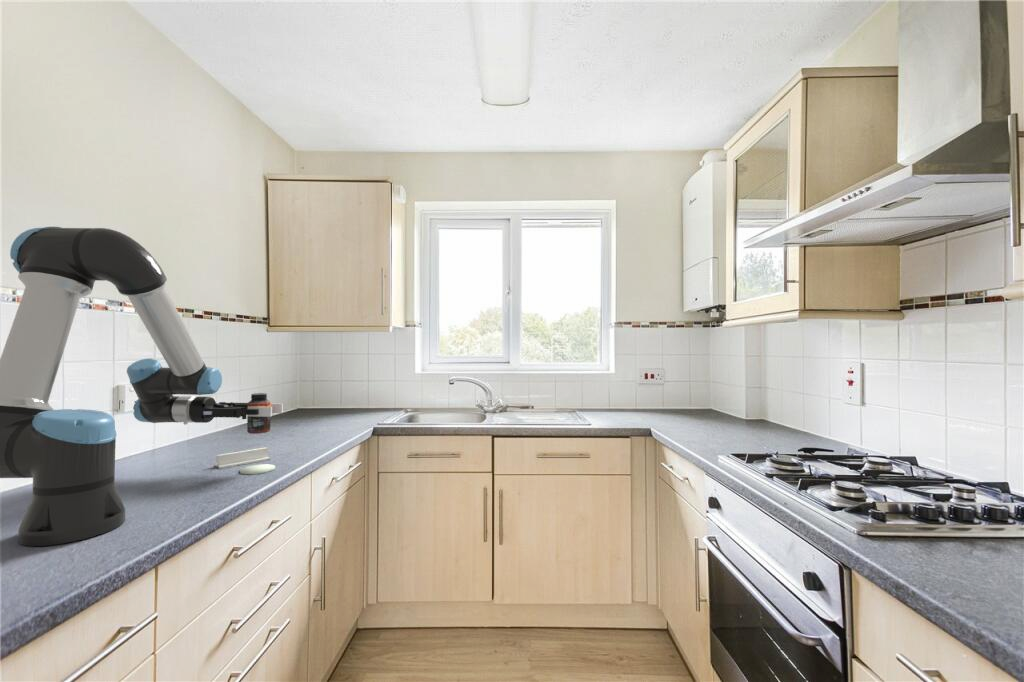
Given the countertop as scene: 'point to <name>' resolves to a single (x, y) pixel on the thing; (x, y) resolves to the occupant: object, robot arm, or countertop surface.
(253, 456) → the low wall
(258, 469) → the sage mat
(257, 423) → the supplement bottle
